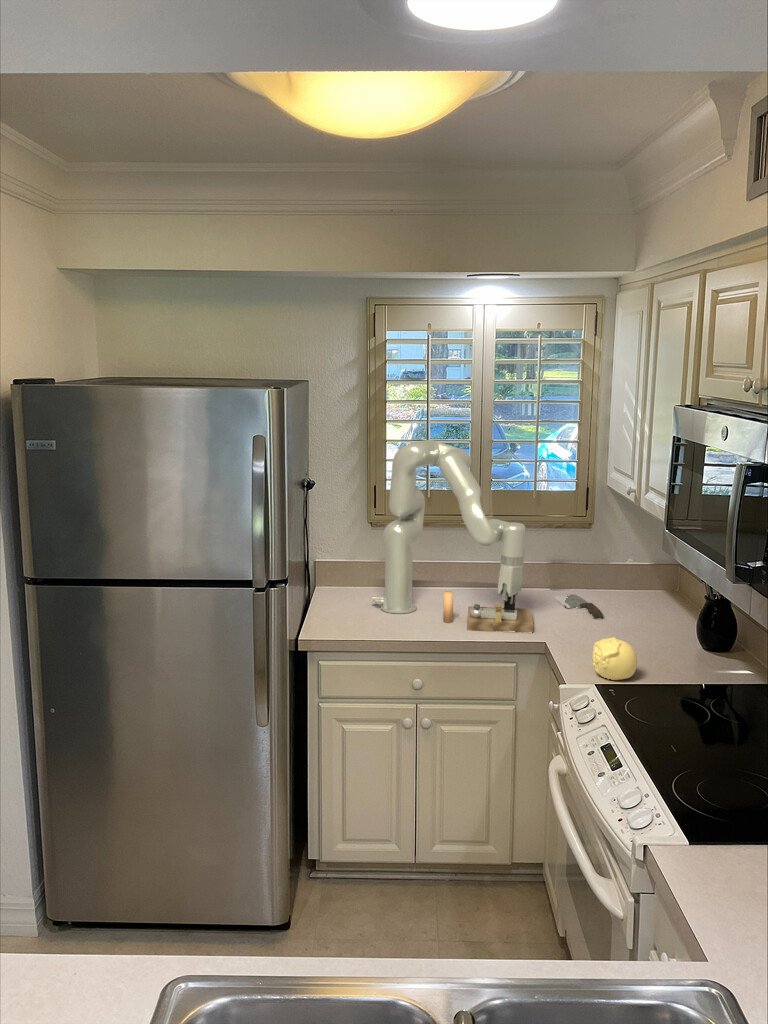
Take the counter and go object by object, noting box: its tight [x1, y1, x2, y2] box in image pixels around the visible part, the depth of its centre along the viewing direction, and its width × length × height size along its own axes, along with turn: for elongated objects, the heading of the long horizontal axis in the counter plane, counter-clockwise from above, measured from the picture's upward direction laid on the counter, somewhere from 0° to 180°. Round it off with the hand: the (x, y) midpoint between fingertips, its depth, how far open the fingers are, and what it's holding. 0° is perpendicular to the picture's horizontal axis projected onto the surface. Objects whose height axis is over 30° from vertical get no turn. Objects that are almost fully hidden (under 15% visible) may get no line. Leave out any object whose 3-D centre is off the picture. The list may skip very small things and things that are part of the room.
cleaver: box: [565, 593, 604, 619], centre depth 296 cm, size 29×10×2 cm, turn 11°
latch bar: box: [470, 607, 517, 620], centre depth 273 cm, size 15×4×2 cm, turn 78°
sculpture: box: [592, 636, 638, 681], centre depth 231 cm, size 11×12×11 cm
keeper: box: [494, 602, 503, 622], centre depth 272 cm, size 2×7×4 cm, turn 173°
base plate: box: [466, 603, 534, 633], centre depth 277 cm, size 21×17×7 cm
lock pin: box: [442, 590, 454, 624], centre depth 278 cm, size 3×3×10 cm
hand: (509, 614), depth 276 cm, fingers closed
